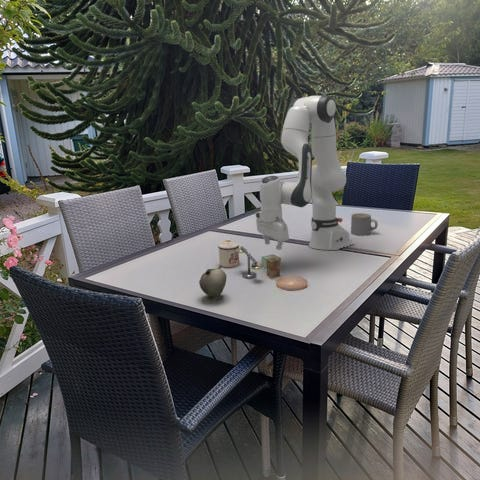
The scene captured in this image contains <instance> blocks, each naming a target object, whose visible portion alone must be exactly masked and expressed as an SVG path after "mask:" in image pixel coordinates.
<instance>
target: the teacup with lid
mask: <svg viewBox="0 0 480 480" xmlns="http://www.w3.org/2000/svg"><path fill="white" fill-rule="evenodd" d="M237 249H240V245H239V243H238V242H235V241H233V240H231V238H226V239H225V241H223V242H220V243H219V244H218V258H219V259H218V260H219V267H220V266H221V268H235V267H236V266H238V265H239V264H240V255H239V254H240V253H238V252H236V250H237Z"/></svg>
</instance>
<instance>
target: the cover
mask: <svg viewBox="0 0 480 480" xmlns="http://www.w3.org/2000/svg"><path fill="white" fill-rule="evenodd" d="M274 257H275V258H277V259H279V260H280V268H282V257H280V256H278V255H276V254H269V255H263V256H261V258H260V259H261V265H262V268H264V269H267V264H266V259H269V258H274Z"/></svg>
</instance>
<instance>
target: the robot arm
mask: <svg viewBox="0 0 480 480" xmlns="http://www.w3.org/2000/svg"><path fill="white" fill-rule="evenodd" d="M287 110H288V111H287V114H286V116H285V119H284V123H283V127H282V131H281V137H280V142H281V146H282V148H283V149H284V150H285V151H286V152H287V153H290V154H291V155H293V156H295V157H296V159H297V161H298V173H297V174H298V176H297V177H298V178H297V181H296V182H293V181H285V180H284V179H283V180H282V179H280V177H279V176H278V175H269V176H268V175H267V176H265V177H263V178H262V179H261V181H260V185H259V200H260V204H261V206H260V211H257V212H255V214H254V215H255V218H256V220H255V221H256V222H255V223H256V230H257V233H259V234H262V238H263V240H264V244H265V245H267V246H268V245H271V240H270V239H269V238H271V239H274V240H276V243H277V245H276V247H275V248H276V250H278V251H280V250H282V249H283V247H282V246H283V243H284V242H288V241H289V240H290V235H289V229H288V224H287V222H286V221H285V220H284V219H283V207H282V204H283V205H288V206H294V207H298V208H304V207H306V206H307V205H309V203H310V202H311V203H312V205H311V206H312V209H311V210H312V216H311V221H310V222H311V234H310V239H309V243H308V246H309V248H312V249H316V250H322V251H323V250H325V251H338V250H341V249H340V248H342V249H344V248H343V247H345V248H347V246H348V247H350V245H351V246H353V245H355V242H354V240H352V239H350V233H349V231H347V229H345V228H343V227H342V226H341V225H340V224H339V223H342V222H343V218H340V217H336V215H337V202H336V198H334V196H333V192H339V191H342V189H344V187H345V186H346V184H347V175H346V173H345V172H344V170H343V169H342V166H341V164H340V161H339V158H338V153H337V151H338V150H337V135H336V134H337V131H336V123H335V115H336V113H337V103H336V100H335V99H334V98H333V96H330V95H326V94H325V95H310V96H305V97H297V98H294V99H293V100H291V102H290V104H289V106H288V108H287ZM310 124H311V129H310ZM310 130H311V133H310V132H309V131H310ZM309 133H310V134H311V136H310V137H311V145H310V144H309V139H308V138H309ZM313 158H314V160H315V162H316V164H314V165H313Z"/></svg>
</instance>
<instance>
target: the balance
mask: <svg viewBox="0 0 480 480" xmlns="http://www.w3.org/2000/svg"><path fill="white" fill-rule="evenodd" d="M236 252H238V253H239V254H245V255H246V257H247V271H244V272H242V273H241V277H242V278H243V279H254V278H257V276H258V275H257V272H255V271H251V269H252V270H261V269H262V268H263V266H262V264H259V263H258V261H257V260H256V259H255V258H254V256H252V254H251V253H250V252H249V251H248V249H247V248H245V247H244V246H239V249H237V250H236ZM251 261H252V263H251Z"/></svg>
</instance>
